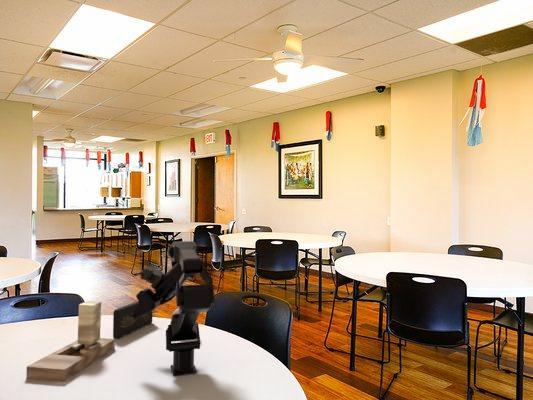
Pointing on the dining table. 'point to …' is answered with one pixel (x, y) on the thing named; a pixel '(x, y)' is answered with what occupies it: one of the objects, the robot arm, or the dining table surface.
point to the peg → (89, 324)
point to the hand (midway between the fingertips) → (140, 313)
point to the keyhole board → (68, 361)
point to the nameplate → (128, 321)
